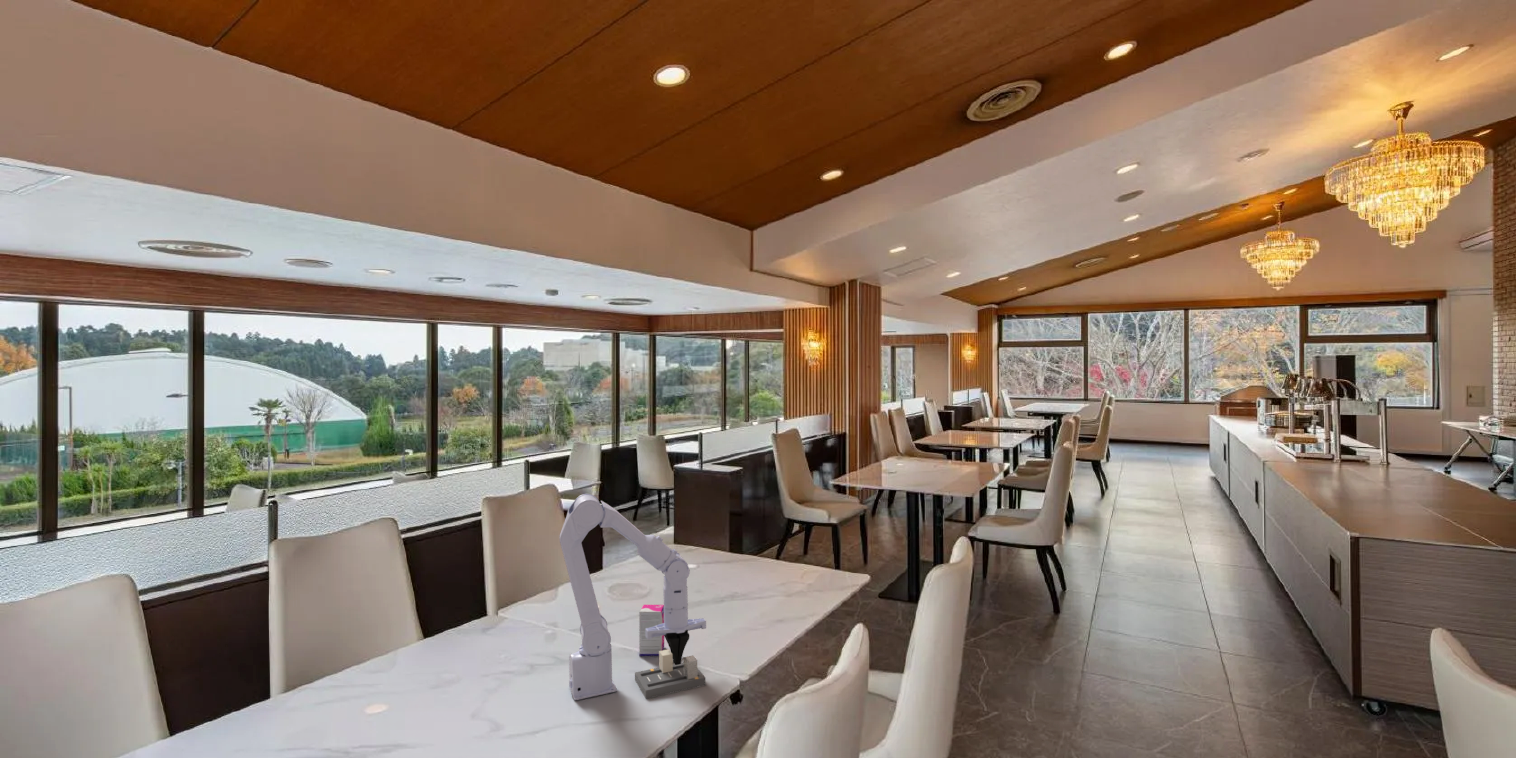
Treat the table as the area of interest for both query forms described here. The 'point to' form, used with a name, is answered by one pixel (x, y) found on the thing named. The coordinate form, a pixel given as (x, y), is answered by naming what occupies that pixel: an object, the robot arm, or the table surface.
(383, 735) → the table surface
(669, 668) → the fader far
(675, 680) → the console
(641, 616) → the supplement box
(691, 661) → the fader near
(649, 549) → the robot arm
